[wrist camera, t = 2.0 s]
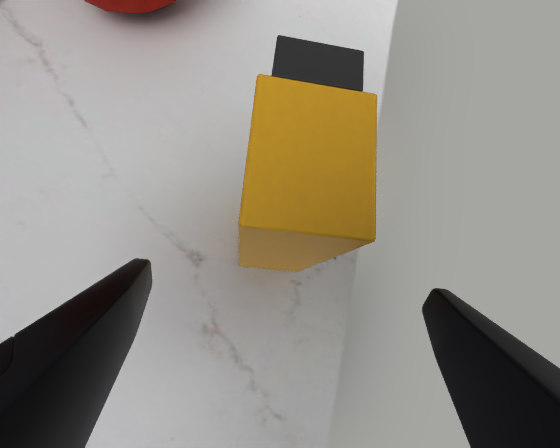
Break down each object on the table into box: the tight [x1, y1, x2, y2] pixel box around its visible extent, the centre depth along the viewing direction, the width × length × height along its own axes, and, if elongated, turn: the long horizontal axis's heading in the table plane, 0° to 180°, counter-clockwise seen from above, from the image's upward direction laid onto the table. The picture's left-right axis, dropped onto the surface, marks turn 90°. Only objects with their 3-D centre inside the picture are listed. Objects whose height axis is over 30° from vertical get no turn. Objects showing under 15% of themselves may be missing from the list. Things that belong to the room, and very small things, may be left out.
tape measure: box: [239, 35, 377, 272], centre depth 15 cm, size 7×4×12 cm, turn 175°
